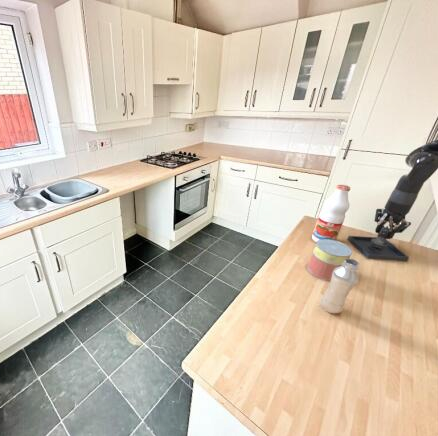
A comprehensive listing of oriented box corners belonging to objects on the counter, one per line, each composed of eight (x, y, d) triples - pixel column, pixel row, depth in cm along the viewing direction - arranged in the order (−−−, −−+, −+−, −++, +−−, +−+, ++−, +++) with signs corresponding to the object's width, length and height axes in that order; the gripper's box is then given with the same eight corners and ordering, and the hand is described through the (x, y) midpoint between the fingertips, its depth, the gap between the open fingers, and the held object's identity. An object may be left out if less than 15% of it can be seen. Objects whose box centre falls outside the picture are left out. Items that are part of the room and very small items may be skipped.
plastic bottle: (344, 310, 81) (369, 263, 72) (335, 319, 78) (360, 272, 69) (323, 298, 86) (344, 252, 77) (314, 306, 83) (334, 260, 73)
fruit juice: (335, 239, 118) (357, 185, 105) (333, 248, 112) (357, 192, 99) (312, 233, 124) (331, 181, 110) (309, 241, 117) (329, 187, 104)
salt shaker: (364, 244, 113) (375, 222, 107) (377, 244, 113) (389, 222, 107) (374, 252, 108) (386, 229, 102) (387, 252, 108) (400, 229, 102)
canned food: (321, 260, 105) (330, 236, 99) (347, 277, 95) (359, 252, 90) (301, 265, 102) (309, 242, 96) (326, 283, 92) (337, 258, 86)
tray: (382, 241, 116) (384, 237, 115) (407, 261, 103) (409, 257, 102) (347, 239, 118) (349, 235, 117) (367, 258, 105) (369, 254, 104)
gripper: (428, 207, 93) (406, 244, 101) (394, 193, 105) (377, 227, 113) (409, 208, 92) (388, 245, 101) (377, 193, 105) (361, 227, 113)
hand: (382, 235), depth 107 cm, fingers open, 4 cm apart
